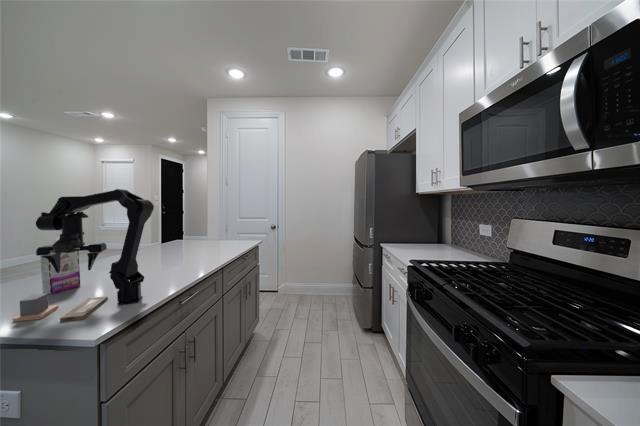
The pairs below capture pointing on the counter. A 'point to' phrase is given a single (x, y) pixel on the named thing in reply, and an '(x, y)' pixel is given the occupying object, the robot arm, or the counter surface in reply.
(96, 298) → the board
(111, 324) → the counter surface
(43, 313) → the stub
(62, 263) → the candy bar box
